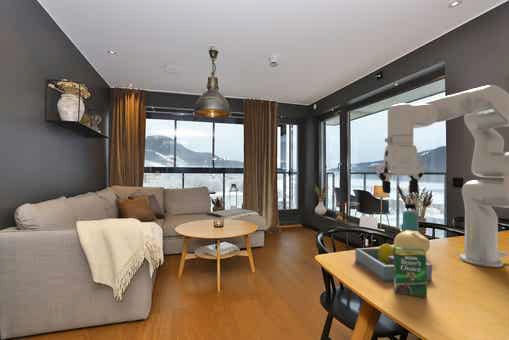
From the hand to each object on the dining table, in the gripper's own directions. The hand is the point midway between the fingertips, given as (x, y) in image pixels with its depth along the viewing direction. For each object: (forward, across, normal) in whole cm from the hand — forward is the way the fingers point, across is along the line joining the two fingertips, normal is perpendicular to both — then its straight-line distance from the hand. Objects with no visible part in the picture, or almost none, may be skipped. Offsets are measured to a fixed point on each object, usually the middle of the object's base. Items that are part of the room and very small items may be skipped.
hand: (400, 192), depth 86 cm
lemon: (+28, 0, +8) cm, 29 cm away
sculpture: (+28, +17, +17) cm, 37 cm away
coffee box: (+28, -6, -12) cm, 31 cm away
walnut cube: (+27, 0, 0) cm, 27 cm away
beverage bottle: (+28, +26, +29) cm, 48 cm away
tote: (+28, 0, +5) cm, 28 cm away
